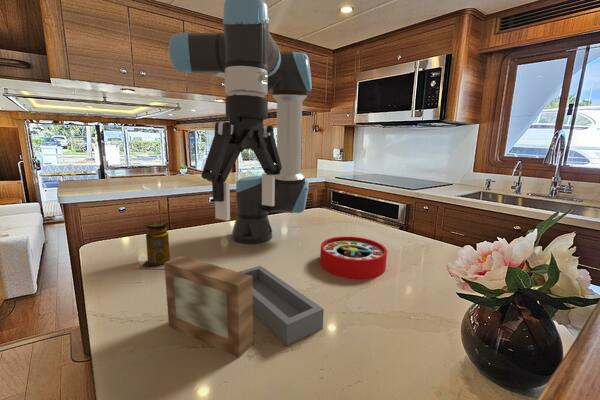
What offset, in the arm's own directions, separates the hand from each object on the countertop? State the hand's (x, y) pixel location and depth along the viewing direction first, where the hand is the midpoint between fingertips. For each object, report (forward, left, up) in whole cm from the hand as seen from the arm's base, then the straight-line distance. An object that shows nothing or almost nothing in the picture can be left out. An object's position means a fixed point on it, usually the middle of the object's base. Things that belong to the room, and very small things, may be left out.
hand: (247, 211), depth 58 cm
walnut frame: (-1, -8, -24) cm, 26 cm away
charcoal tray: (-2, +7, -24) cm, 25 cm away
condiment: (-42, -8, -24) cm, 49 cm away
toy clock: (-8, +40, -25) cm, 48 cm away
